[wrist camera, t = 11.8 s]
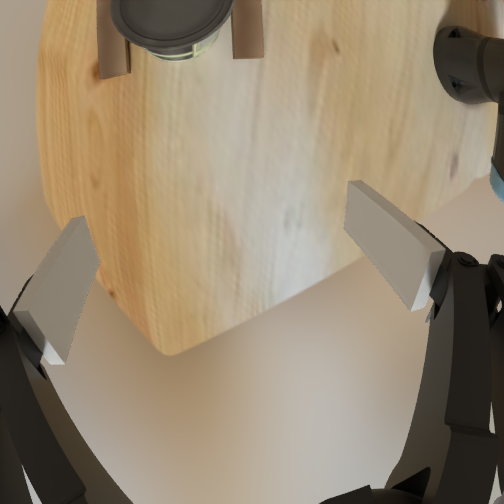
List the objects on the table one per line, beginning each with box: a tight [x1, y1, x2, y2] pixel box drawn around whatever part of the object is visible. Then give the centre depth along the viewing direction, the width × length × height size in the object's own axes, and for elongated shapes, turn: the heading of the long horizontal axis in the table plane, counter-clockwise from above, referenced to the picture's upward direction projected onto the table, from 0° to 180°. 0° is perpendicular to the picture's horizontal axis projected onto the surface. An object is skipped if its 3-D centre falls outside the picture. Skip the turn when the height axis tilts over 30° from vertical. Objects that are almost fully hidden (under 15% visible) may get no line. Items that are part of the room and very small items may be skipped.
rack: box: [97, 0, 264, 79], centre depth 24 cm, size 20×16×4 cm
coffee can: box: [110, 0, 235, 62], centre depth 21 cm, size 10×10×14 cm
